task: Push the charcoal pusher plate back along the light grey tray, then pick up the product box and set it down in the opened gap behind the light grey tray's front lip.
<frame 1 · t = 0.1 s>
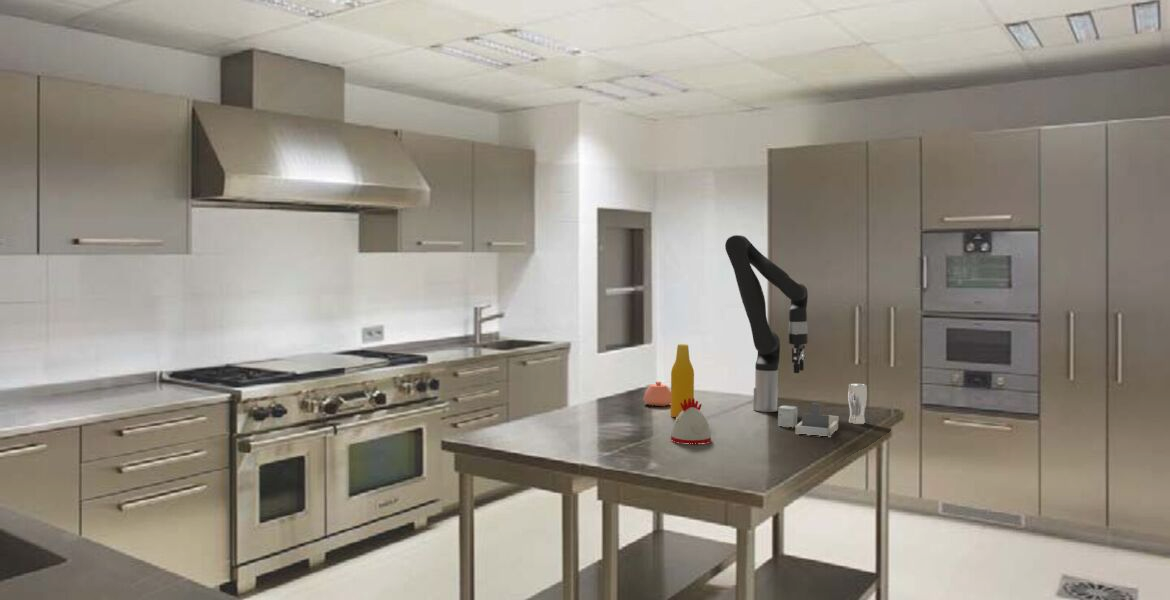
hand: (798, 371, 350), 17 cm above the table, tool pointing down, fingers open, 8 cm apart
beanie hat: (690, 441, 299), on the table
light grey tray: (817, 431, 315), on the table
beer bottle: (682, 417, 342), on the table
beer glass: (856, 423, 331), on the table
product box: (787, 426, 325), on the table
pusher: (815, 417, 312), point 6 cm above the table, slide at 0.0 cm
sugar bowl: (658, 405, 369), on the table
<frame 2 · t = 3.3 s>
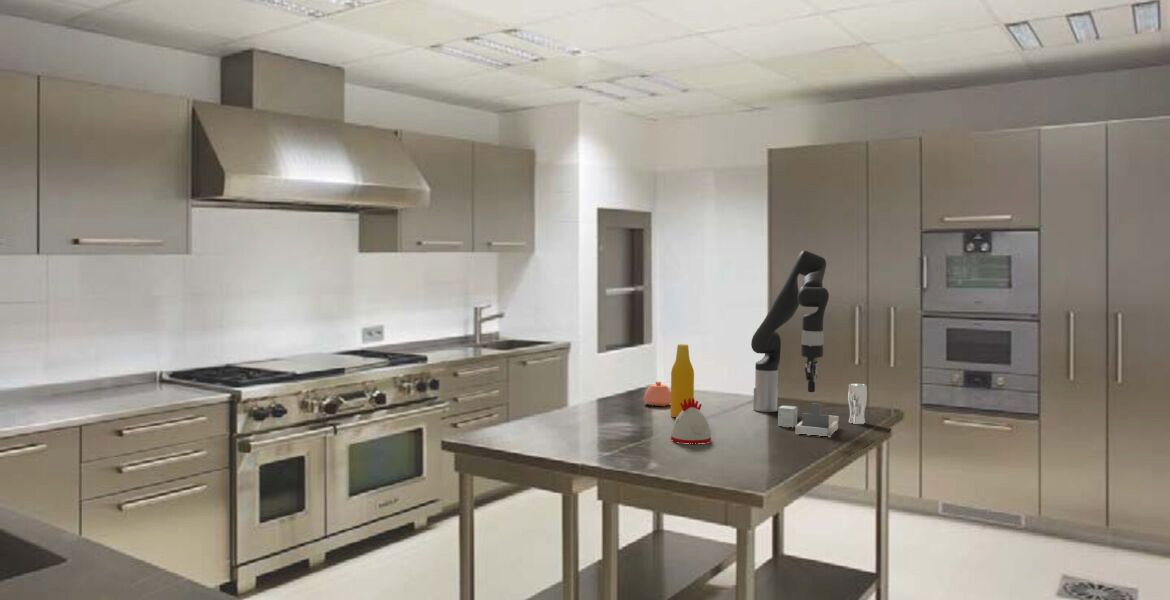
hand: (811, 391, 303), 17 cm above the table, tool pointing down, fingers closed
nothing on the table moved.
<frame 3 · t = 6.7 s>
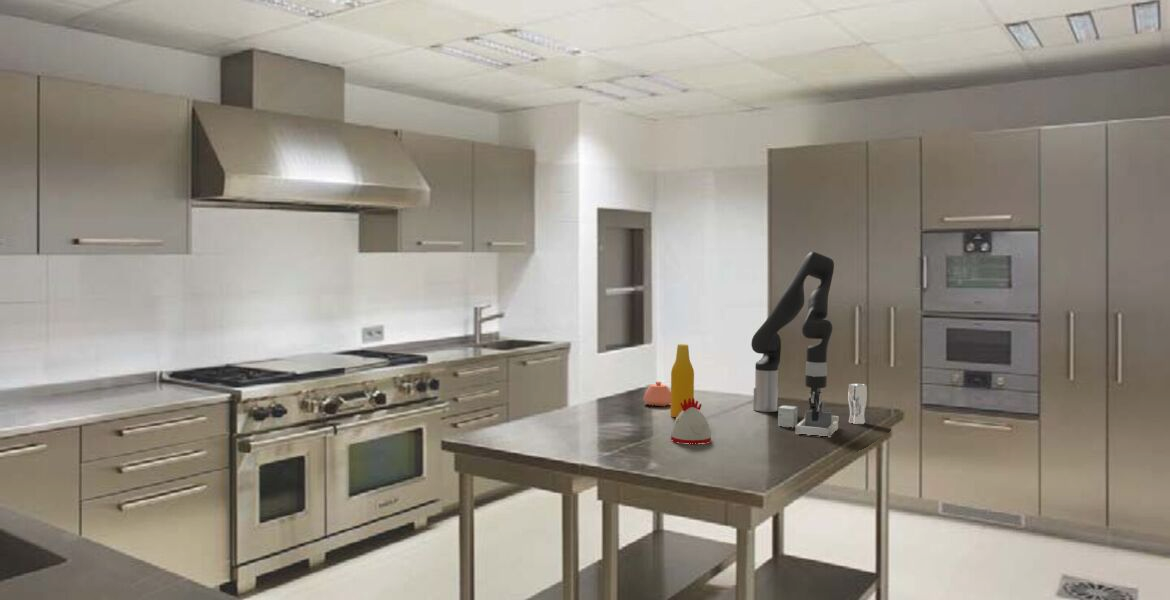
hand: (815, 420, 312), 4 cm above the table, tool pointing down, fingers closed
pusher: (818, 414, 317), point 6 cm above the table, slide at 5.9 cm, touching hand
everything else where it was.
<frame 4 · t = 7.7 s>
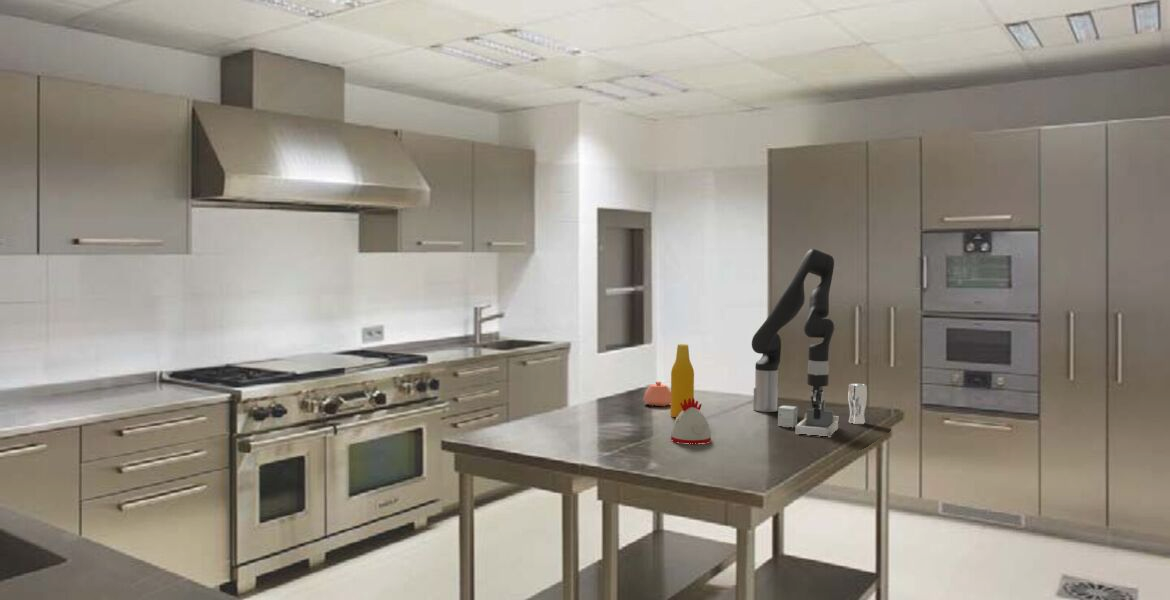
hand: (817, 418, 315), 4 cm above the table, tool pointing down, fingers closed
pusher: (820, 412, 320), point 6 cm above the table, slide at 9.0 cm, touching hand
everything else where it was.
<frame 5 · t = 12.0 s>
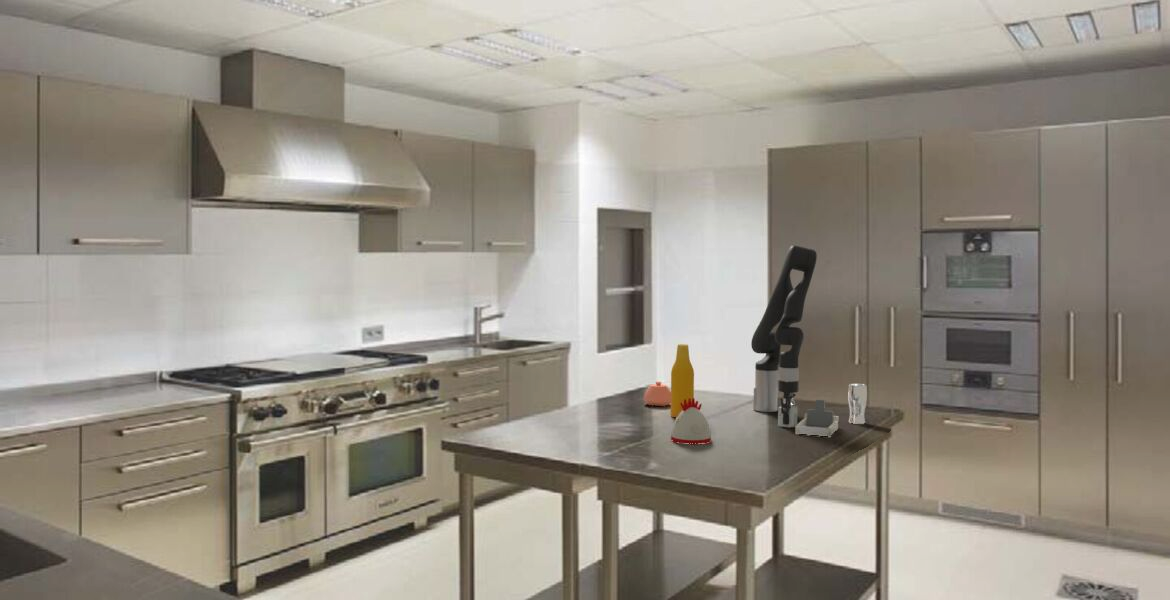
hand: (787, 422, 325), 1 cm above the table, tool pointing down, fingers closed on product box, 6 cm apart
product box: (787, 426, 325), on the table, touching gripper
pusher: (820, 412, 320), point 6 cm above the table, slide at 9.0 cm
everything else where it was.
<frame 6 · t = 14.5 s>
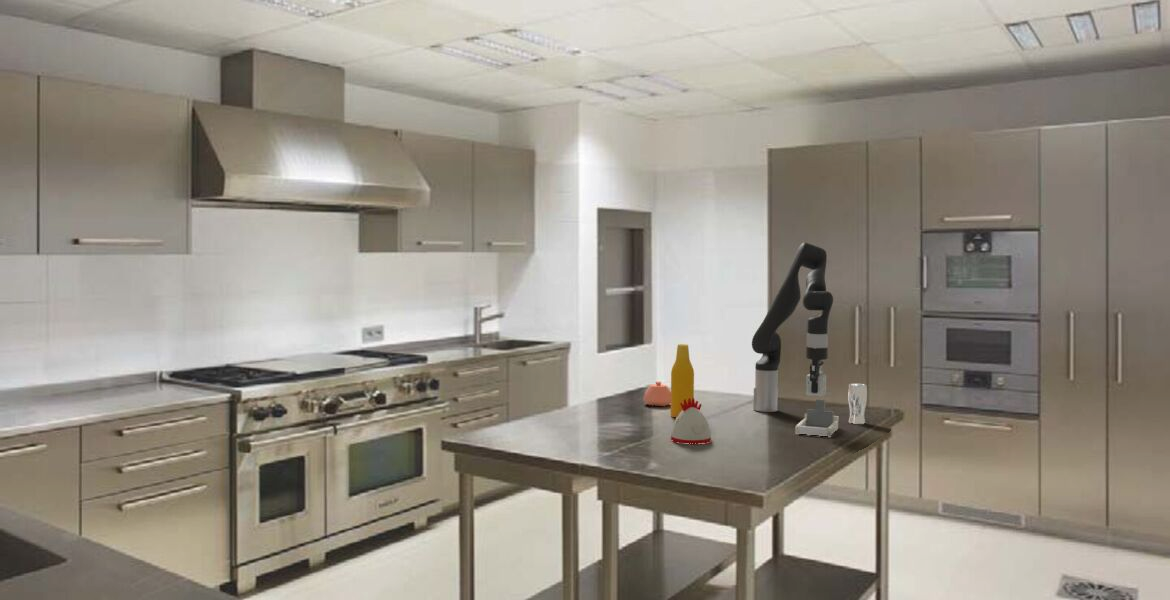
hand: (816, 391, 311), 15 cm above the table, tool pointing down, fingers closed on product box, 6 cm apart
product box: (816, 395, 311), point 14 cm above the table, touching gripper
everything else where it was.
when the fingers open (3 cm above the table, at t = 16.8 s): product box drops 2 cm, resting on light grey tray.
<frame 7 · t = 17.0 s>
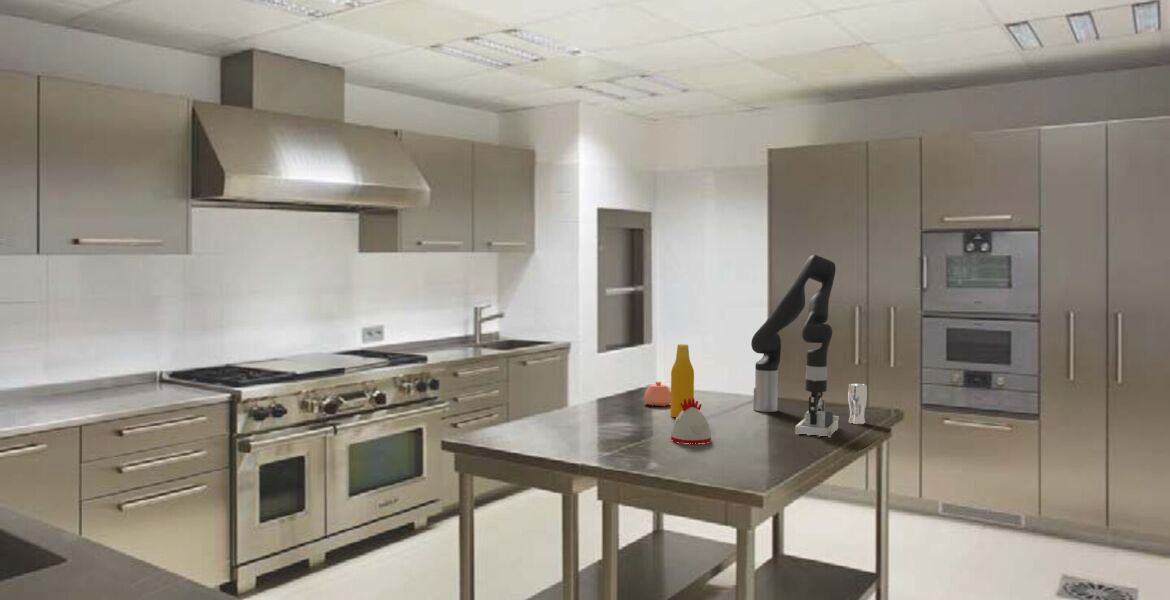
hand: (815, 422, 311), 4 cm above the table, tool pointing down, fingers open, 7 cm apart
product box: (814, 432, 312), resting on light grey tray
everything else where it was.
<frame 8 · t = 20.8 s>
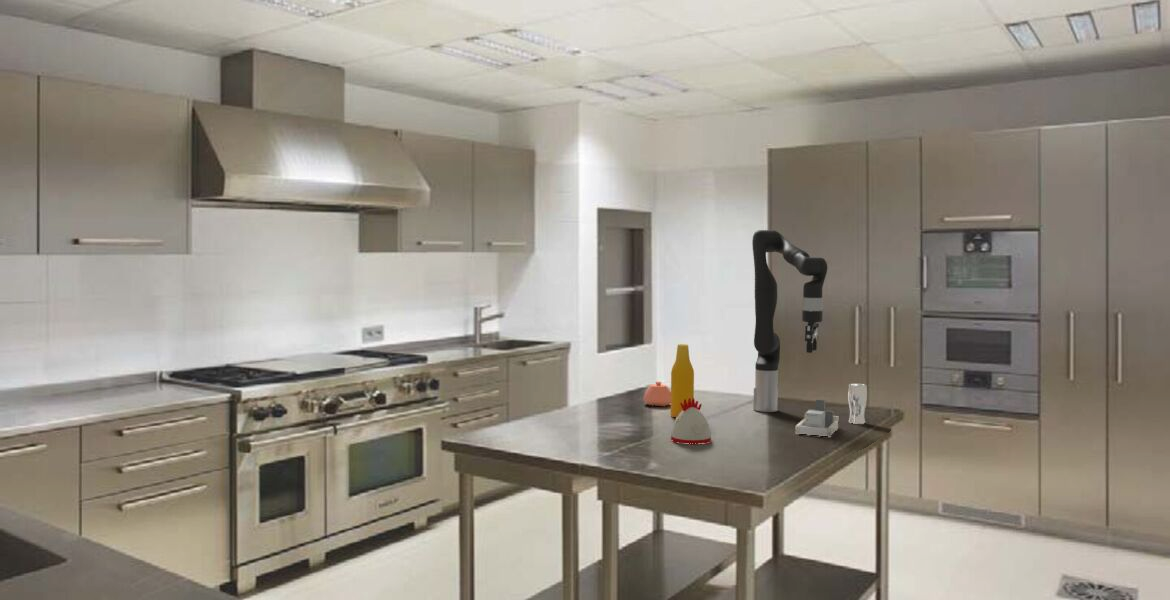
hand: (811, 351, 328), 28 cm above the table, tool pointing down, fingers open, 8 cm apart
nothing on the table moved.
at the end: product box inside the target area on the light grey tray (0.3 cm from its centre), point 0.4 cm above the light grey tray's base; product box tilted 0°; pusher slide at 9.0 cm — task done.
